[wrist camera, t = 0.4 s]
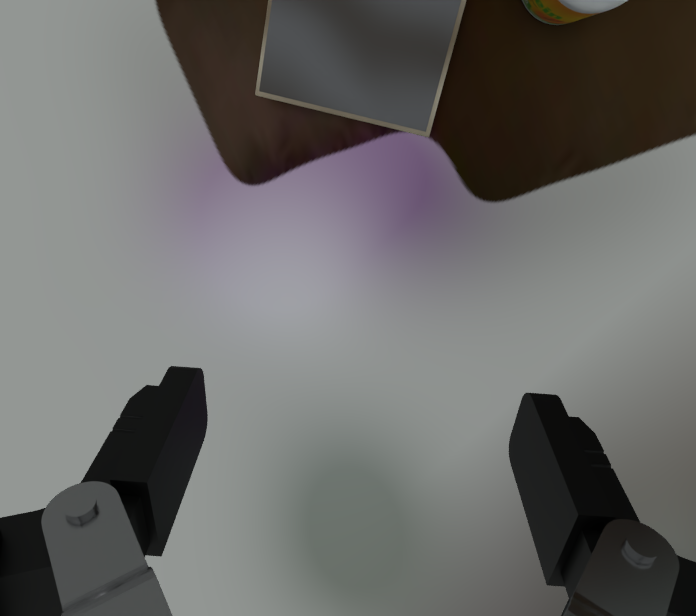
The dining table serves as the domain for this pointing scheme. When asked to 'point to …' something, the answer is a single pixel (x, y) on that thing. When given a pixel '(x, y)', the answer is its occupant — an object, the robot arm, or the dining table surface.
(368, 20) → the plinth
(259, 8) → the dining table surface
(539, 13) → the supplement bottle
